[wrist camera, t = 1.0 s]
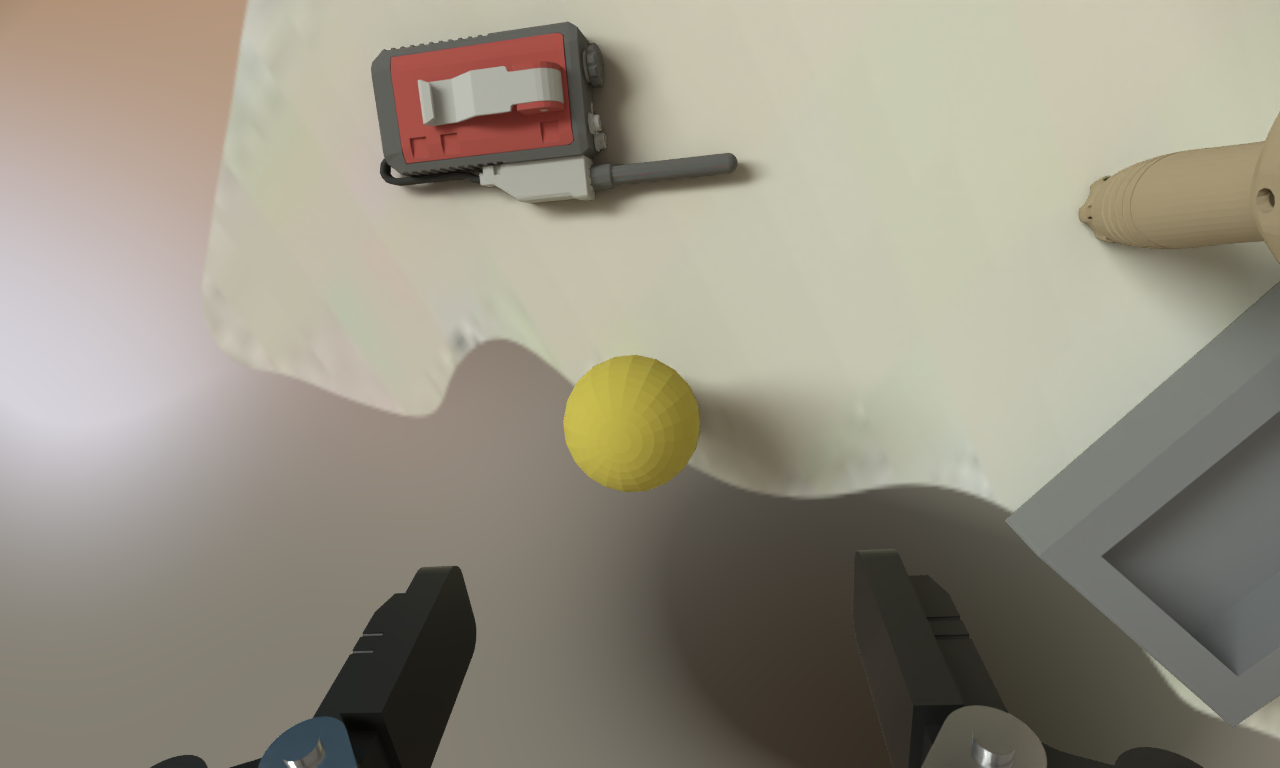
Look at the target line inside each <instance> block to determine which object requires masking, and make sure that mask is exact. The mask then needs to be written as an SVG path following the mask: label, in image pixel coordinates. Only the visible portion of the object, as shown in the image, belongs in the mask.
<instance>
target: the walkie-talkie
mask: <svg viewBox="0 0 1280 768" xmlns="http://www.w3.org/2000/svg"><path fill="white" fill-rule="evenodd" d="M371 73H372V80H373V87H374V94H375V100H376V107H377V114H378V121H379V127H380V134H381V141H382V147H383V153H384V157H385V159H383V161H382V162H381V167H380V174H381V176H382V178H383V179H384V180H385V181H386V182H387V183H389V184H394V185H399V186H404V185H413V184H422V183H430V182H439V181H448V180H461V179H468V180H470V181H472V182H476V183H480V185H482V186H486V187H492V186H497V187H499V188H500V189H502V190H503V191H505V192H506V193H508V194H509V195H511V196H513V197H514V198H516V199H517V200H519V201H521V202H526V203H537V202H548V201H558V200H569V199H579V200H582V201H586V200H594V199H595V190H601V189H610V188H614V187H615V185H621V184H631V183H641V182H650V181H660V180H670V179H680V178H689V177H699V176H708V175H717V174H727V173H731V172H733V171H734V170H735V169H736V167H737V159H736V157H735V156H734V155H733V154H731V153H724V154H715V155H706V156H698V157H689V158H680V159H671V160H663V161H654V162H645V163H636V164H627V165H619V166H613V165H612V164H611V163H607V164H598V165H592V160H591V159H592V158H593V157H594V156H595V155H596V154H597V153H598V152H600V149H606V148H607V139H606V135H605V133H598V132H597V131H601V120H600V116H599V115H594V105H593V94H592V86H593V87H595V88H597V87H601V86H602V85H603V82H604V68H603V61H602V56H601V51H600V49H599V46H598V45H596V44H595V43H592V44H588V40H587V39H586V38H585V36H584V35H583V34H582V32H581V31H580V30H579V29H578V27H576V26H575V25H573V24H571V23H570V22H564V23H557V24H550V25H544V26H537V27H530V28H523V29H517V30H510V31H503V32H497V33H490V34H488V35H487V36H482V35H478V37H475V38H472V37H471V36H470V37H468V39H462V38H458V40H455V41H453V40H452V39H450V40H448V42H443V41H439V42H438V43H433V42H430V43H429V44H428V45H424V44H420V45H419V46H414V45H410V47H408V48H405V47H404V46H403V47H401V48H400V49H395V48H391V50H385V49H384V50H383V51H382V52H381V53H380V54H379V55H378V57H377V58H376V59H375V60H374V61H373V62H372V67H371ZM391 167H392V168H394V169H395V170H396V171H398V172H399V173H400V174H402V175H406V176H411V177H406V178H394V177H393V176H392V175H391V174H390V173H391ZM475 171H480V172H483V173H479V176H477V175H474V174H472V173H475ZM469 172H471V173H469Z"/></svg>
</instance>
